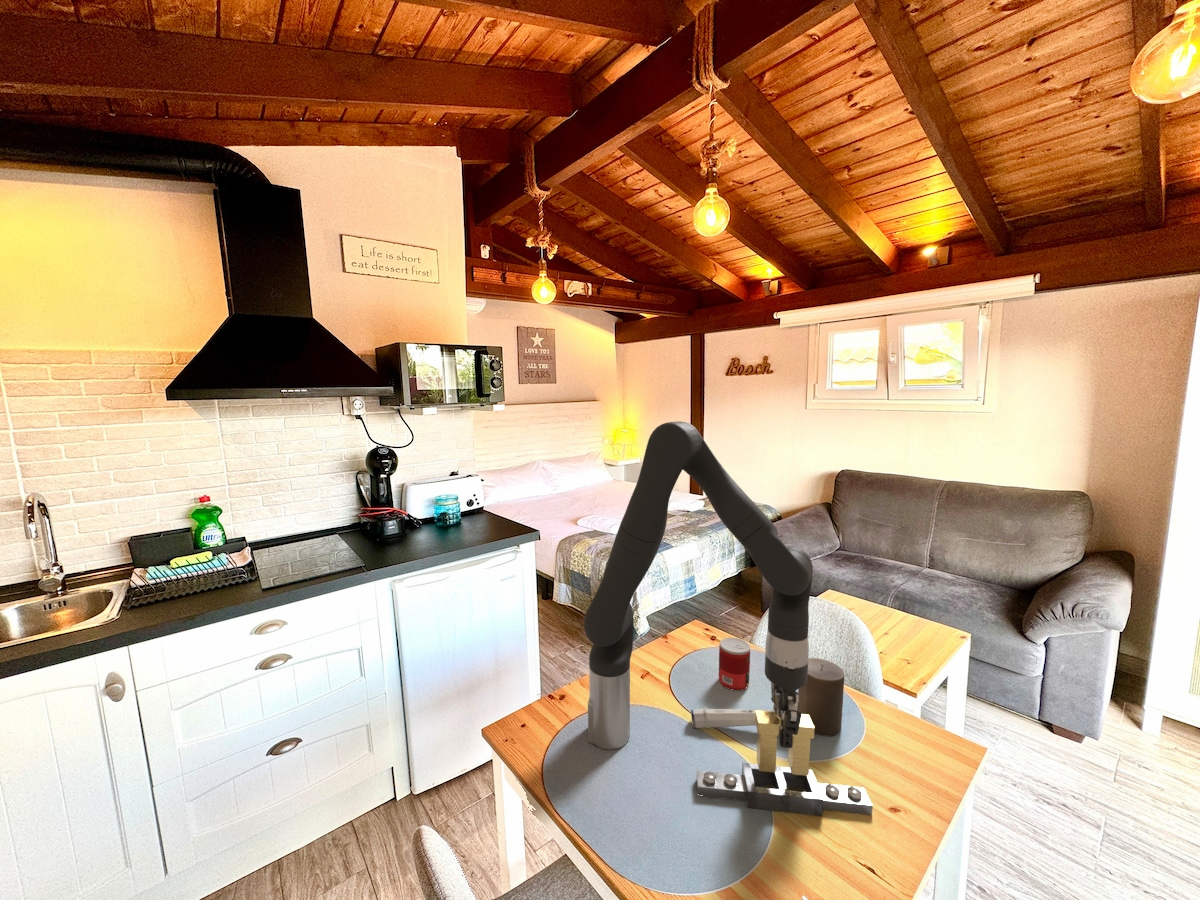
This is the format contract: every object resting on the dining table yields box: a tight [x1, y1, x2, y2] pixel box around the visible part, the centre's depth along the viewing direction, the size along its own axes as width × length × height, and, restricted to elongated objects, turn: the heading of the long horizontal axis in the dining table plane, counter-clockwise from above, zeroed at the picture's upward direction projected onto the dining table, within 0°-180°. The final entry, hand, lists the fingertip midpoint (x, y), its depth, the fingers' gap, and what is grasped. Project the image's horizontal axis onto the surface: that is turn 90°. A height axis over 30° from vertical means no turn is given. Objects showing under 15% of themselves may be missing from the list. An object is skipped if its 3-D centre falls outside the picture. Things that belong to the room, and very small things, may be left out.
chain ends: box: [696, 762, 874, 817], centre depth 92 cm, size 32×7×4 cm, turn 82°
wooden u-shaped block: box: [754, 709, 815, 776], centre depth 91 cm, size 10×4×10 cm, turn 82°
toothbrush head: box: [690, 707, 775, 730], centre depth 110 cm, size 5×7×25 cm
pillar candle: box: [797, 657, 845, 737], centre depth 112 cm, size 10×10×15 cm
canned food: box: [718, 637, 751, 691], centre depth 128 cm, size 8×8×11 cm
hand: (782, 738), depth 91 cm, fingers closed on wooden u-shaped block, 3 cm apart
